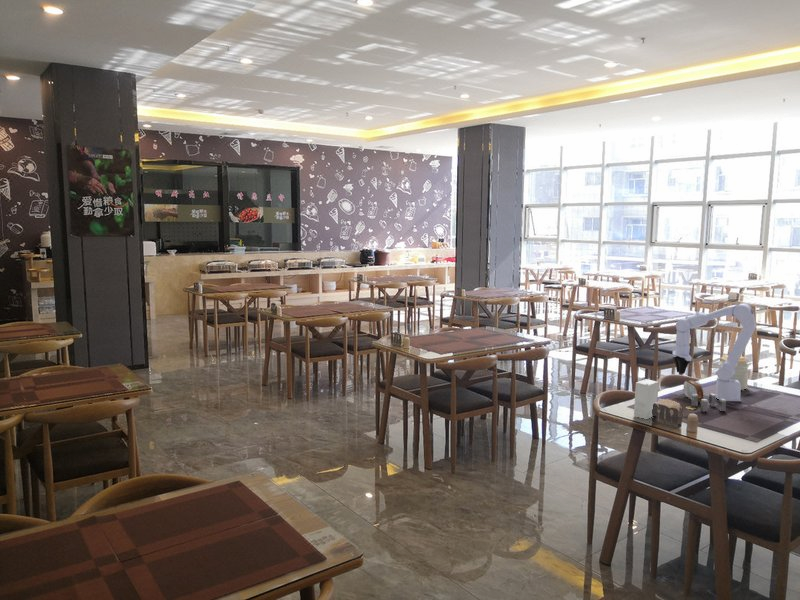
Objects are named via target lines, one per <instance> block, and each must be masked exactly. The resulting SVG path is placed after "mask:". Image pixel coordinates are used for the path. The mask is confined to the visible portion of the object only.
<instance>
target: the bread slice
mask: <svg viewBox="0 0 800 600" xmlns="http://www.w3.org/2000/svg"><path fill="white" fill-rule="evenodd" d="M683 393H684V395H685V397H686V398H687V397H688V398H687V399H689V400H690V399H691V400H692V394H697V395H698V403H701V399H704V390H703V387H702V385H701V384H700V383H699V382H696V380H693V379H686V380H684V381H683ZM691 400H690V401H691Z"/></svg>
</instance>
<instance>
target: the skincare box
mask: <svg viewBox="0 0 800 600" xmlns="http://www.w3.org/2000/svg"><path fill="white" fill-rule="evenodd" d="M659 383H660V382H659V381H657V380H652V379H648V378H645V379H643V380H638V381H637V382H635V390H634V403H633V405H634V407H633V417H634V416H636V417H635V418H637V417H640V418H639V419H641V418H644V419H648V418H650V419H652V418H653V417H652V409H653V404H654V403H655V402H657V403H658V399H659V398H658V395H659ZM651 417H652V418H651ZM644 419H643V420H644ZM648 420H649V419H648Z"/></svg>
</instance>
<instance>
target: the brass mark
mask: <svg viewBox="0 0 800 600" xmlns="http://www.w3.org/2000/svg"><path fill="white" fill-rule="evenodd" d="M686 408H687V409H686ZM685 409H686V410H689V409H691V410H690V411H695V410H694V409H696V410H697V408H696V406H685Z"/></svg>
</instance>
